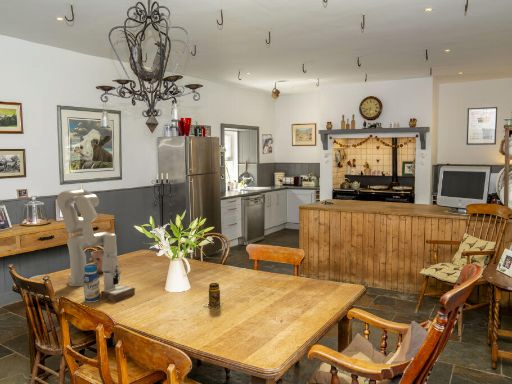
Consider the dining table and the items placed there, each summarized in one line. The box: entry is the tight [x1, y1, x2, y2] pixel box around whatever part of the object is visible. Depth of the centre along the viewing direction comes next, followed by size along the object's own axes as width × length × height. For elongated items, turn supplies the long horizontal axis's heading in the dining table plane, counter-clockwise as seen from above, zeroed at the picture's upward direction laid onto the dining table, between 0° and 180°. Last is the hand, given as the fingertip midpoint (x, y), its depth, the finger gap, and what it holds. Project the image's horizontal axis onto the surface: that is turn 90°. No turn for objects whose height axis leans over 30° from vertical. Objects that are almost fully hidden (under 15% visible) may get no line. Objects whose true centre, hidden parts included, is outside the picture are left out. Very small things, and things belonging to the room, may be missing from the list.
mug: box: [102, 272, 121, 291], centre depth 258 cm, size 10×7×12 cm, turn 133°
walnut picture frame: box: [100, 284, 136, 303], centre depth 248 cm, size 12×14×4 cm
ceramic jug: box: [88, 249, 104, 274], centre depth 300 cm, size 18×14×14 cm
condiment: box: [203, 282, 223, 309], centre depth 231 cm, size 7×8×12 cm
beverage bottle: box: [83, 263, 101, 303], centre depth 241 cm, size 8×8×20 cm
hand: (111, 282), depth 259 cm, fingers closed on mug, 6 cm apart
